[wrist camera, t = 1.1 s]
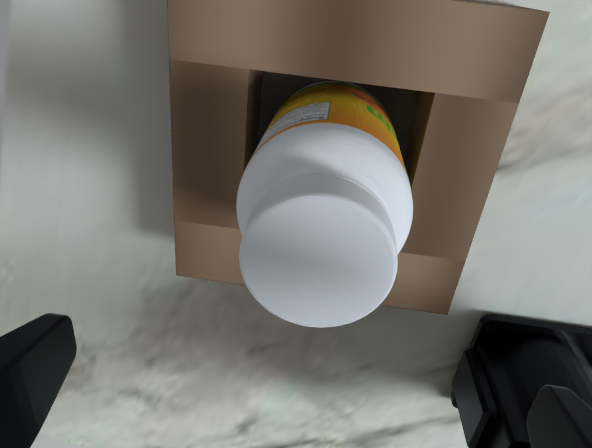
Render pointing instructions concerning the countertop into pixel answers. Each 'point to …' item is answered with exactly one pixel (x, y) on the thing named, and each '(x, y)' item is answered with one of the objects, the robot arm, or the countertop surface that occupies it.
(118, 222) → the countertop surface
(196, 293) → the countertop surface
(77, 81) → the countertop surface
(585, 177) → the countertop surface
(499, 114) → the walnut open tray
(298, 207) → the supplement bottle
